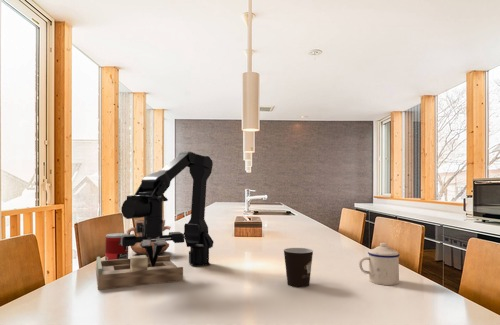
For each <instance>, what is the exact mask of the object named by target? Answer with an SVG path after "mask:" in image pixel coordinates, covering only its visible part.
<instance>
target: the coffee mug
mask: <svg viewBox="0 0 500 325" xmlns="http://www.w3.org/2000/svg"><path fill="white" fill-rule="evenodd" d="M313 252H314V250H313V249H310V248H305V247H287V248H284V249H283V255H284V264H285V271H286V272H285V273H286V283H287V286H288V287H291V286H292V288H307V287H309V286H310V281H311V275H312V274H311V272H312V264H313V263H312V262H313Z"/></svg>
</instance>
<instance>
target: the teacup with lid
mask: <svg viewBox="0 0 500 325" xmlns="http://www.w3.org/2000/svg"><path fill="white" fill-rule="evenodd" d="M387 245H388V244H387V243H386V242H380V243H379V246H376V247H375V248H372V249H369V250H368V252H367V254H368V256H363V257H361V259H359V261H358V267H359V269H360V271H361V272H362V273H363V274H366V275H368V280H369V281H370V283H373V284H375V285H381V286H396V285H398V284H399V283H400V268H399V267H400V266H399V265H400V263H399V262H400V261H399V260H400V259H399V257H400V252H398V251H397V250H396V249H395V250H394V249H393V248H391V247H390V246H387ZM364 261H368V270H364V268H363V265H362V264H363V262H364Z"/></svg>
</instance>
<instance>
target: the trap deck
mask: <svg viewBox="0 0 500 325" xmlns="http://www.w3.org/2000/svg"><path fill="white" fill-rule="evenodd" d="M147 258H148V266H147V270H141V271H130V258H129V257H128V259H116V260H105V259H103V260H101V256H96V267H95V270H96V284H97V285H96V286H97V290H98V291H99V290H100V291H101V290H106V289H107V290H108V289H117V288H128V287H136V286H137V287H138V286H145V285H146V286H147V285H156V284H165V283H175V282H176V283H177V282H183V281H184V267H183V266H177V265H176V264H175V263H173V261H172V260H171V255H160V256H159V255H158V258H157V260H156V263H155V265H154V267H151V264H150V261H149V257H148V256H147Z"/></svg>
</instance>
